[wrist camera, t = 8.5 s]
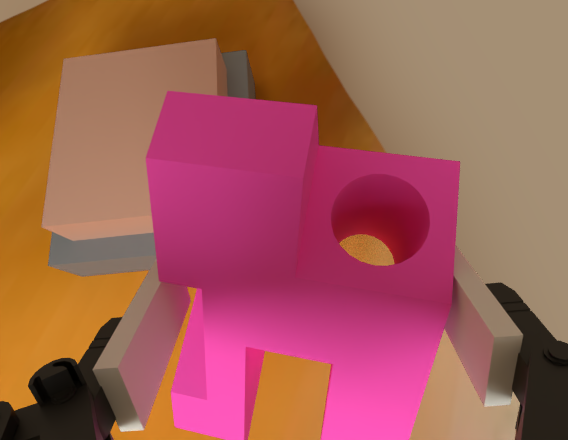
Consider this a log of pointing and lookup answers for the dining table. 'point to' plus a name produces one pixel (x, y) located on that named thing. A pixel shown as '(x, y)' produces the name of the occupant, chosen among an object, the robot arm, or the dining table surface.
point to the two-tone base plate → (120, 148)
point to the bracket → (298, 262)
